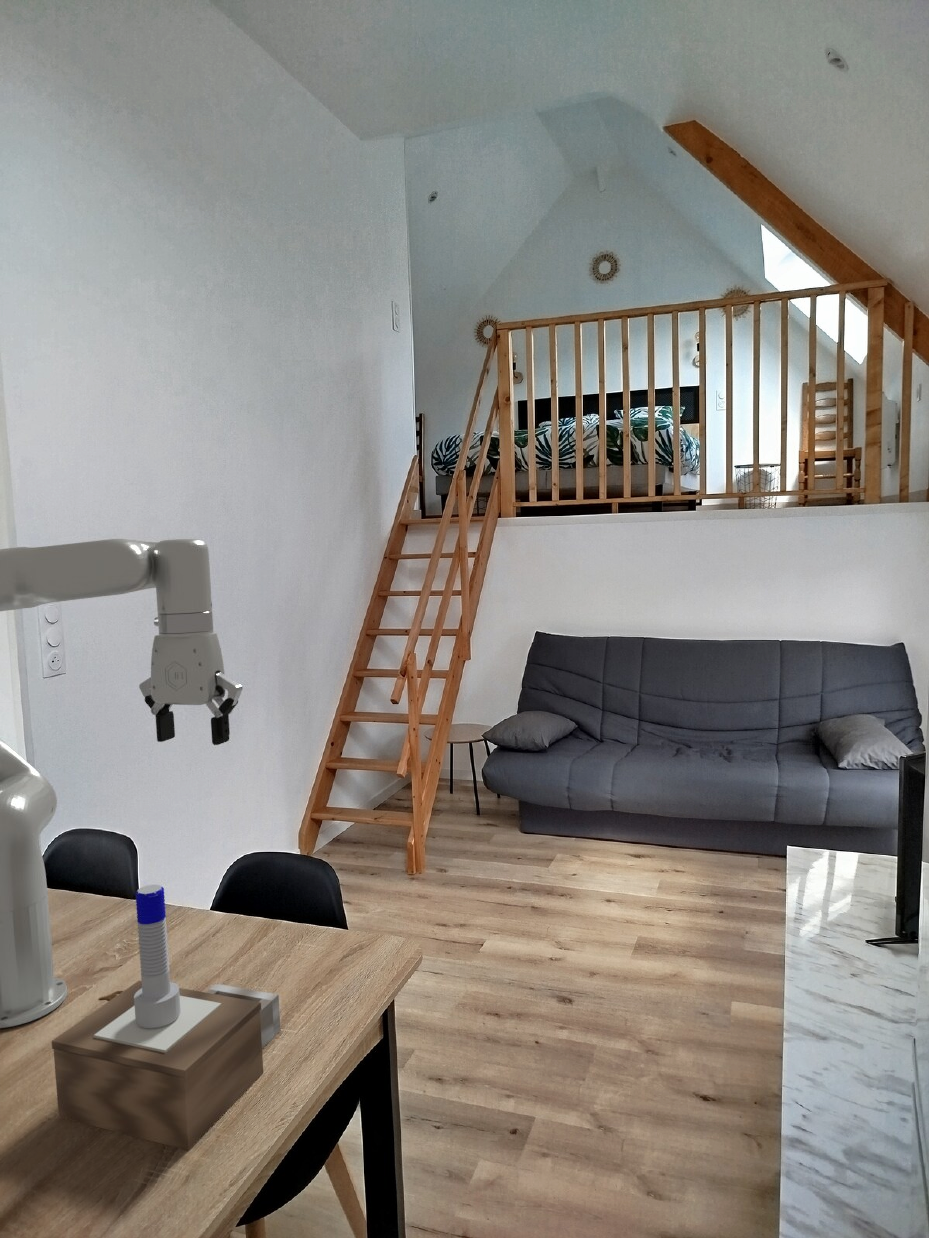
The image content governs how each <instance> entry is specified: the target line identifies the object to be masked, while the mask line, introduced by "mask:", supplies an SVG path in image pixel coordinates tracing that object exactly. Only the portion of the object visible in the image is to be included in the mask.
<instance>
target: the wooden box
mask: <svg viewBox="0 0 929 1238" xmlns="http://www.w3.org/2000/svg"><path fill="white" fill-rule="evenodd" d="M141 988H142V980H138V981H136V982H135V983H133V984H132V985H130V986H129V987H127V988H126V989H124V990H122V991H123V992H122V993H120V994H117V996H116V997H114V998H113V999H112V1000H110V1001H106V1003H104V1004H103V1005H101V1006H100V1007H99V1008H97V1009H96V1010H94V1011H93V1012H91V1013H90V1014H89V1015H87V1016H86V1017H85V1018H83V1019H82V1020H80V1021H79V1022H76V1024H74V1025H73V1026H71V1027H69V1028H68V1029H67V1030H65V1031H64V1032H63V1033H61V1034H59V1035H58V1036H57V1037H54V1039H53V1040H51V1050H53V1059H54V1061H53V1062H54V1073H55V1084H56V1085H55V1086H56V1087H55V1088H56V1096H57V1097H56V1098H57V1099H56V1100H57V1109H58V1117H59V1118H62V1119H65V1120H66V1119H67V1120H71V1121H74V1122H78V1123H82V1124H85V1125H88V1126H89V1125H90V1126H94V1127H96V1128H101V1129H104V1130H109V1131H112V1132H116V1133H118V1134H124V1135H128V1136H132V1137H135V1138H140V1139H143V1140H147V1141H151V1142H154V1143H158V1144H162V1145H165V1146H169V1147H173V1148H177V1149H181V1150H185V1151H190V1150H191V1149H192V1148H193V1147H194V1146H195V1145H196V1144H197V1143H198V1142H199V1141H200V1140H201V1138H202V1137H204V1135H205V1134H206V1133H208V1131H209V1130H211V1128H212V1127H213V1126H214V1125H215V1124H216V1123H217V1122H218V1121H220V1118H221V1117H222V1116H224V1114H226V1113H227V1111H229V1110H230V1109H231V1107H232V1106H234V1104H235V1103H236V1102H237V1101H238V1100H239V1099H240V1098H241V1097H242V1096H243V1095H244V1094H245V1093H246V1092H247V1090H248V1089H250V1088H251V1086H252V1085H253V1084H254V1083H255V1082H256V1081H257V1080H258V1079H260V1077H261V1076H262V1075H263V1074H264V1059H263V1049H264V1048H265V1047H266V1045H268V1044H269V1043H270V1042H271V1040H273V1039H274V1038H275V1037H276V1036H277V1035H278V1033H280V1032H281V1020H280V1019H281V1018H280V1017H281V1015H280V999H279V994H276V993H272V992H271V993H270V992H265V991H260V990H254V989H248V988H243V987H236V986H232V985H226V984H219V983H214V984H213V985H212V986H210V987H209V988H208V989H206V991H199V990H195V989H188V988H183V987H179V994H180V996H185V997H190V998H196V999H201V1000H206V1001H212V1002H217V1003H221V1004H222V1006H221V1007H219V1008H218V1009H217V1010H216V1011H215V1012H213V1013H212V1014H211V1015H210V1016H209V1017H208V1018H206V1019H205V1020H204V1021H203V1022H202V1023H200V1024H199V1025H198V1026H197V1027H196V1028H195V1029H193V1030H192V1031H191V1032H190V1033H189V1034H187V1035H186V1036H185V1037H184V1038H183V1039H181V1040H180V1041H179V1042H178V1043H177V1044H176V1045H174V1046H173V1047H172V1048H171V1049H170V1050H168V1051H167V1052H166V1053H163V1052H159V1051H154V1050H149V1049H145V1048H140V1047H135V1046H131V1045H126V1044H121V1043H117V1042H112V1041H108V1040H103V1039H98V1038H94V1035H95V1034H96V1033H97V1032H99V1031H100V1030H101V1029H103V1028H104V1027H106V1026H107V1025H108V1024H110V1023H111V1022H112V1021H114V1020H115V1019H117V1018H118V1017H119V1016H121V1015H122V1014H123V1013H125V1012H126V1011H128V1010H129V1009H130V1008H132V1007H133V1006H134V995H135V993H136V992H137V991H138V990H140V989H141Z"/></svg>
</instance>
